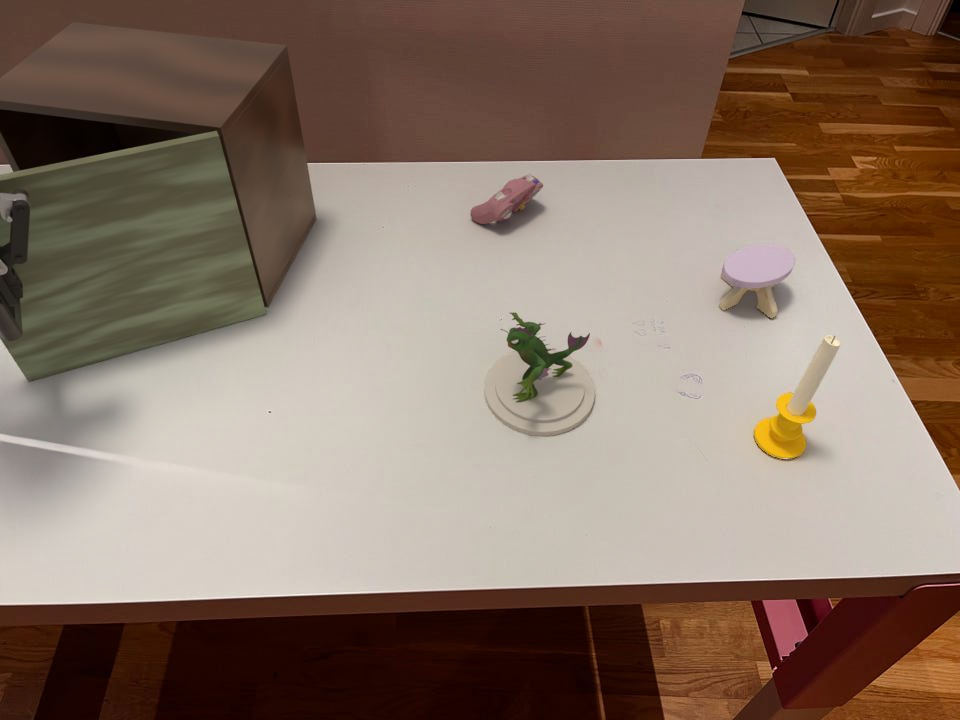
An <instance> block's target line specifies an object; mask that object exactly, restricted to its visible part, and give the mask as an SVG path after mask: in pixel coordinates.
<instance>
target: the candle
mask: <svg viewBox="0 0 960 720" xmlns="http://www.w3.org/2000/svg"><path fill="white" fill-rule="evenodd" d="M840 347H841V341H840V340H839V339H838V337H836V335H834V336H833V335H831V334H827V335H824V337H823V338H822V341H821V343H820V344H819V346H818V347H817V349H816V351H815V353H814V355H813V356H812V358H811V360H810V362H809V364H808V366H807V368H806V370H805V371H804V373H803V375H802V377H801V379H800V381H799V382H798V384H797V386H796V388H795V390H794V391H793V392H785V393H783V394H780V395H779V396H778V397H777V398H776V400H775V401H776V402H775V407H776V410H777V411H778V413H776V414H774V415H773V416H771V417H766V418H763V419H761V420H760V421H758V422H757V424H756V426H755V427H754V429H753V438H754V437H755V439H754V442H755V441H756V442H755V443H757V444H758V445H757V444H756V445H757V447H758V446H760V448H762V450H763V451H765V452H766V453H768V454H769V455H771V456H775V457H778V458H782V459H783V458H788V459H789V458H794V457H797V456H799V455H800V456H801V455H802V454H803V453H804V452H805V450H806V447H807V440H806V436H805V434H804V433H803V426H802V425H805V424H810V423H811V422H813V421H814V420H815V419H816V417H817V408H816V406H815V404H814V403H813V401H812V399H813V397H814V396H815V394H816V392H817V391H818V388H819V387H820V385H821V383H822V382H823V380H824V377H825V375H826V374H827V373H828V370H829V368H830V367H831V365H832V364H833V361H834V359H835V357H836V355H837V354H838V351H839V349H840ZM760 448H759V449H760ZM762 450H761V451H762ZM763 451H762V452H763ZM765 452H764V453H765ZM802 452H803V453H802ZM766 453H765V454H766ZM768 454H767V455H768ZM769 455H768V456H769ZM771 456H770V457H771ZM800 456H799V457H800ZM797 458H798V457H797Z"/></svg>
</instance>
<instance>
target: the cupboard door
mask: <svg viewBox="0 0 960 720" xmlns="http://www.w3.org/2000/svg"><path fill="white" fill-rule="evenodd" d="M16 189H23V190H25V191H27V193H28V194H29V204H30V221H29V238H28V254H27V261H26V262H25V263H23V264H15V265H13V268H14V270H15V271H16V273H17V275H18V277H19V279H20V280H21V282H22V284H23V298H20V305H16V306H12V307H10V305H9V304H8V302H7V301H6V299H5V297H4V296H3V294H2V292H1V291H0V341H1V342H2V344H3V345H4V347H5V348H6V350H7V351H8V354H10V356H11V357H12V359H13V360H14V362H15V364H16V365H17V367H18V368H19V370H20V371H21V373H22V374H23V376H24V377H25V379H26V381H27V382H32V381H36V380H39V379H43V378H46V377H49V376H53V375H56V374H61V373H64V372H68V371H71V370H74V369H78V368H81V367H86V366H89V365H92V364H95V363H99V362H103V361H107V360H110V359H113V358H117V357H121V356H124V355H128V354H131V353H134V352H138V351H141V350H146V349H148V348H149V349H150V348H152V347H156V346H160V345H163V344H167V343H170V342H174V341H177V340H180V339H183V338H187V337H192V336H194V335H198V334H202V333H206V332H208V331H212V330H216V329H219V328H223V327H227V326H230V325H233V324H237V323H241V322H245V321H249V320H252V319H255V318H258V317H262V316H266V315H267V311H266V308H265V307H264V303H263V300H262V296H261V292H260V288H259V285H258V281H257V277H256V273H255V270H254V266H253V262H252V258H251V254H250V251H249V247H248V243H247V239H246V236H245V232H244V228H243V224H242V221H241V217H240V213H239V209H238V206H237V202H236V198H235V194H234V191H233V187H232V183H231V179H230V176H229V172H228V168H227V164H226V160H225V157H224V153H223V149H222V145H221V142H220V138H219V135H218V132H217V131H213V132H208V133H203V134H198V135H193V136H188V137H183V138H178V139H173V140H168V141H163V142H159V143H154V144H149V145H144V146H139V147H134V148H129V149H124V150H119V151H114V152H109V153H104V154H100V155H95V156H90V157H85V158H80V159H75V160H70V161H65V162H60V163H55V164H50V165H46V166H41V167H36V168H31V169H26V170H21V171H16V172H13V171H12V172H7V173H1V174H0V193H7V194H12V192H13V191H14V190H16ZM10 226H11V222H7V221H6V220H4V219H3V218H2V217H1V214H0V244H1V245H2V246H4V245H6V244H7V243H9V242H10Z"/></svg>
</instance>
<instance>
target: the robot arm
mask: <svg viewBox="0 0 960 720" xmlns="http://www.w3.org/2000/svg"><path fill="white" fill-rule="evenodd" d="M0 214H1V217H2V218H3V219H4V220H6V221H7V222H11V226H10V242H9V243H7V244H6V245H4V246H2V245H1V244H0V291H1V292H2V294H3V296H4V297H5V299H6V301H7V302H8V304H9V305H10V307H12V306H16V305H20V298H23V284H22V282H21V280H20V279H19V277H18V275H17V273H16V271H15V270H14V268H13V265H15V264H23V263H25V262H26V261H27V254H28V238H29V221H30V204H29V194H28V193H27V191H25V190H23V189H16V190H14V191H13V192H12V194H7V193H0Z"/></svg>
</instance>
